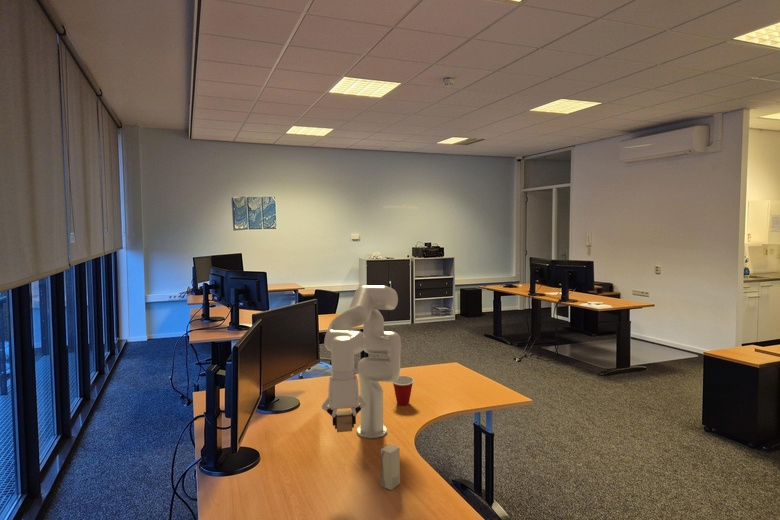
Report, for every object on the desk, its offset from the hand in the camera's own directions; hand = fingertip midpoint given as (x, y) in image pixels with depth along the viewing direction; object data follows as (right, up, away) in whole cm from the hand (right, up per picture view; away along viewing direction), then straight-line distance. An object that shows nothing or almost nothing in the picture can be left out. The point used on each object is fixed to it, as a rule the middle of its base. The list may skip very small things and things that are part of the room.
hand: (344, 426), depth 158 cm
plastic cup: (+22, -14, +71) cm, 75 cm away
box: (+15, -20, -1) cm, 25 cm away
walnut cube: (0, -1, 0) cm, 1 cm away
